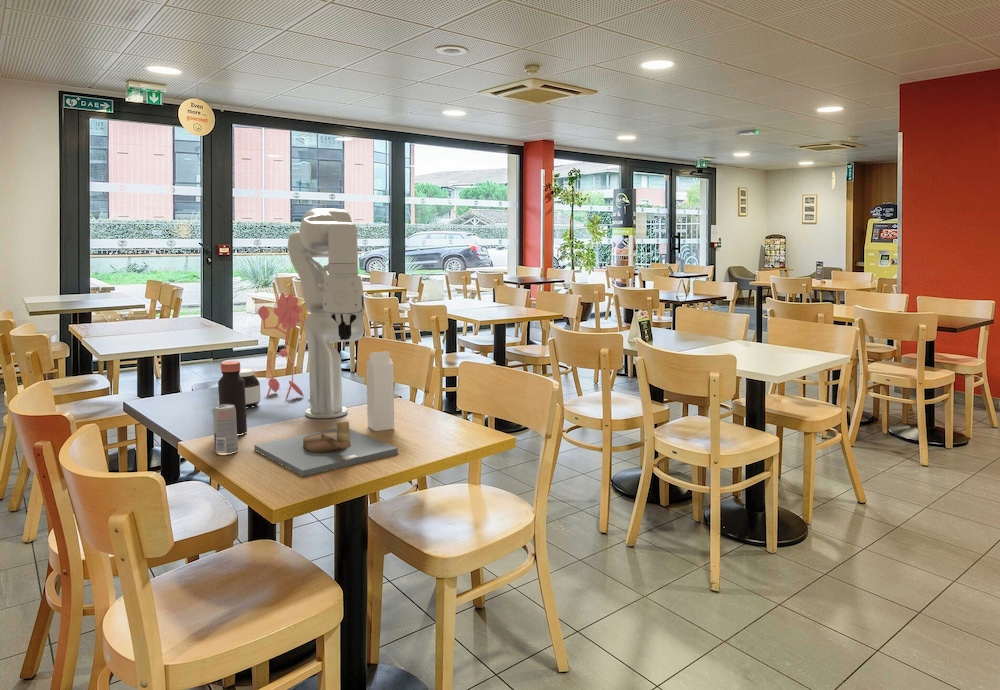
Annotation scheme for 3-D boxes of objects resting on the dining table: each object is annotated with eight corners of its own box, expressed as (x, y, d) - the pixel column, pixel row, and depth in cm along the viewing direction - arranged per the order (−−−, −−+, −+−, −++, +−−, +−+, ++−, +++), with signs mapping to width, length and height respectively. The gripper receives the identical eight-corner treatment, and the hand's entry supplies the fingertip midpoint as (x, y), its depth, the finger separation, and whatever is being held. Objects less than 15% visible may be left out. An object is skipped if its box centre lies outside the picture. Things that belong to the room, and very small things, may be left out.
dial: (295, 444, 179) (294, 414, 177) (334, 436, 186) (333, 407, 185) (326, 460, 167) (325, 427, 166) (366, 451, 174) (365, 419, 173)
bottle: (222, 438, 189) (218, 365, 186) (219, 432, 195) (215, 361, 192) (248, 435, 192) (245, 363, 189) (245, 429, 198) (241, 359, 195)
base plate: (254, 450, 179) (254, 444, 179) (344, 431, 197) (344, 425, 196) (302, 476, 160) (302, 469, 160) (397, 453, 178) (397, 447, 178)
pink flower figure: (302, 403, 228) (299, 295, 223) (248, 393, 241) (245, 291, 236) (335, 395, 241) (334, 293, 236) (283, 386, 254) (281, 290, 249)
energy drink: (229, 448, 181) (227, 402, 179) (242, 451, 178) (240, 405, 176) (210, 453, 177) (208, 406, 175) (223, 457, 174) (221, 410, 172)
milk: (394, 429, 200) (393, 353, 197) (374, 431, 197) (373, 354, 194) (387, 423, 205) (386, 349, 202) (367, 426, 202) (365, 351, 199)
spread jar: (264, 406, 225) (263, 370, 223) (234, 413, 216) (232, 376, 214) (240, 400, 231) (238, 366, 230) (210, 407, 222) (208, 371, 220)
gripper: (310, 270, 182) (312, 340, 185) (366, 271, 180) (367, 342, 183) (321, 269, 189) (323, 336, 192) (375, 269, 187) (376, 337, 190)
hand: (345, 339), depth 187 cm, fingers closed
